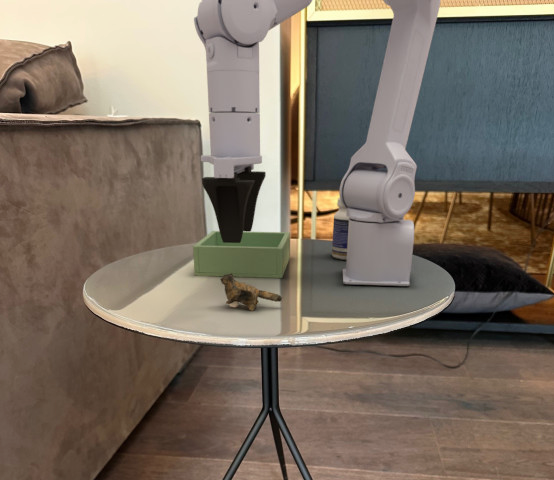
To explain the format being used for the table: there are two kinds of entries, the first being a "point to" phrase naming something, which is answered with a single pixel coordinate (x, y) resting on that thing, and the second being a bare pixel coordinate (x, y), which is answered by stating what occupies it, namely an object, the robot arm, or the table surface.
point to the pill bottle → (340, 233)
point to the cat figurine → (244, 293)
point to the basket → (243, 255)
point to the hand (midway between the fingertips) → (237, 236)
